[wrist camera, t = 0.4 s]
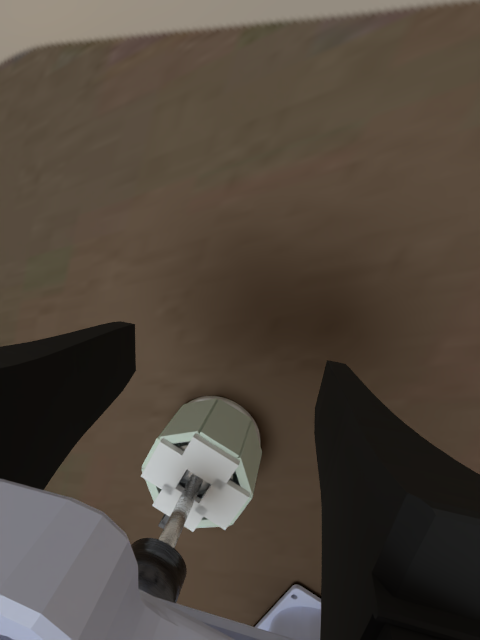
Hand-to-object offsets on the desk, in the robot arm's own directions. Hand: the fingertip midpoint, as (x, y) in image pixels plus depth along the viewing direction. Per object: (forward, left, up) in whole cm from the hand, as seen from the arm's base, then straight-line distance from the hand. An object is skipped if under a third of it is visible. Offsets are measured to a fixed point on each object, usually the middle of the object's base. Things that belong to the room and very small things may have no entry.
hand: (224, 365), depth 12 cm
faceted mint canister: (-11, -2, -11) cm, 15 cm away
